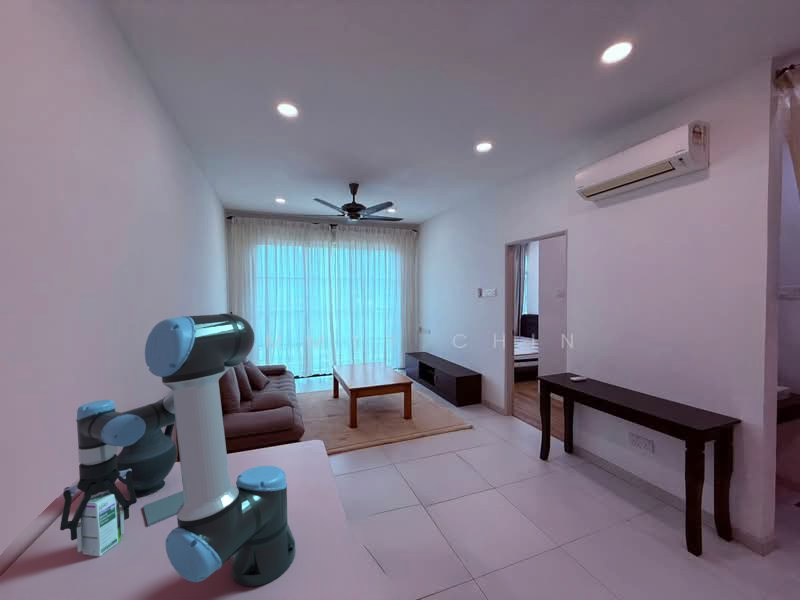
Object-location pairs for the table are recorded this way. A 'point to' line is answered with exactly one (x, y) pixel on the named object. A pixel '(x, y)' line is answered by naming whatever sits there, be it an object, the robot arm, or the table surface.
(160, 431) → the pitcher
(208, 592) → the table surface
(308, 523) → the table surface
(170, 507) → the mat
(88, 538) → the syrup box
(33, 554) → the table surface
